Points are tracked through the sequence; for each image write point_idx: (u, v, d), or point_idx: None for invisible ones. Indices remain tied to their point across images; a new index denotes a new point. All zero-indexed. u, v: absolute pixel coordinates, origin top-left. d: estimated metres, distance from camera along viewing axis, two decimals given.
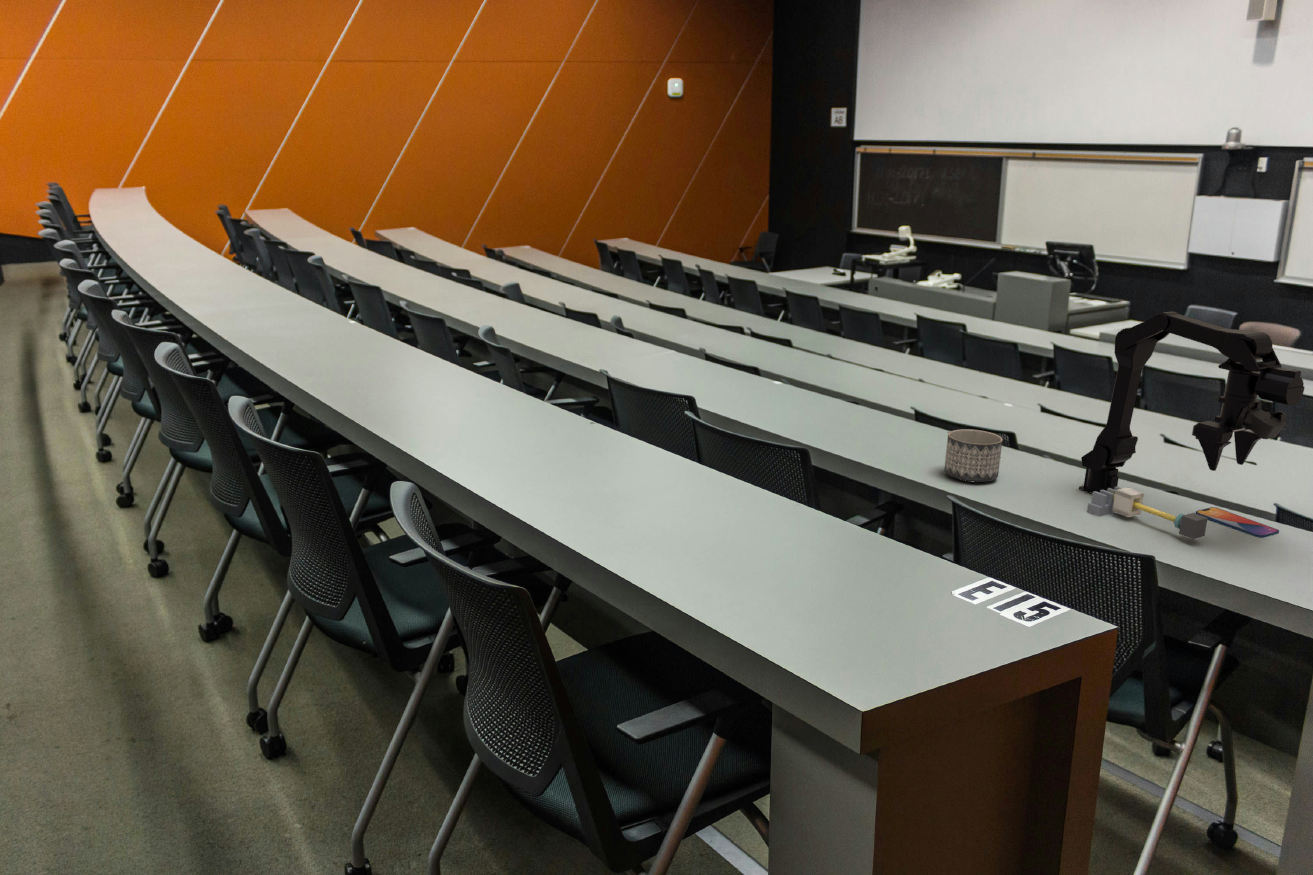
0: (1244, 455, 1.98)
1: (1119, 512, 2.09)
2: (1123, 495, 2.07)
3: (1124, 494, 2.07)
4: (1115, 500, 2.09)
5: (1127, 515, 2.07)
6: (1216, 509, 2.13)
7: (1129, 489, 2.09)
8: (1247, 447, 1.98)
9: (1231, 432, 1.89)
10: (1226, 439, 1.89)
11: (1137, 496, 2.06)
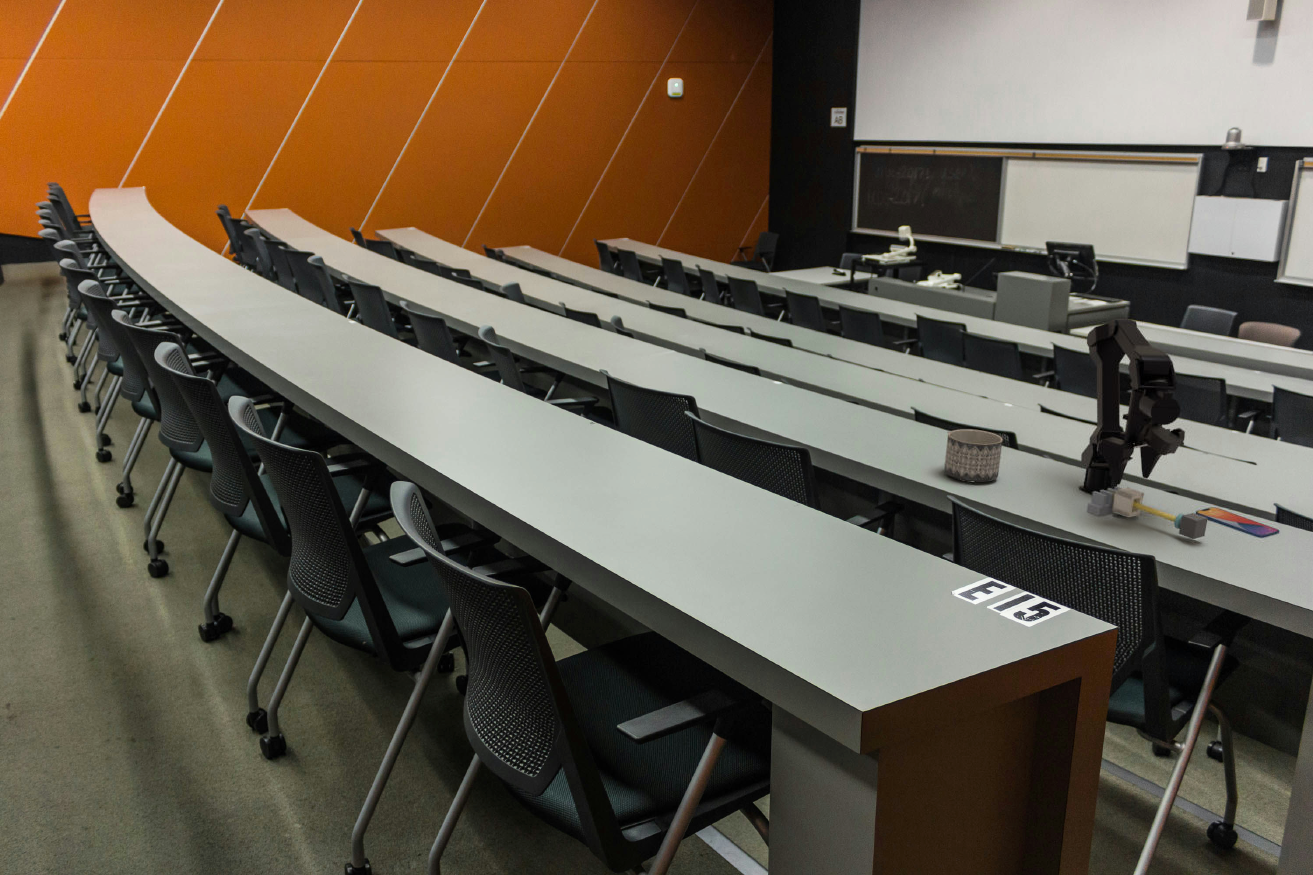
0: (1149, 469, 2.08)
1: (1119, 512, 2.09)
2: (1123, 495, 2.07)
3: (1124, 494, 2.07)
4: (1115, 500, 2.09)
5: (1127, 515, 2.07)
6: (1216, 509, 2.13)
7: (1129, 489, 2.09)
8: (1151, 462, 2.08)
9: (1132, 448, 1.99)
10: (1127, 455, 1.99)
11: (1137, 496, 2.06)
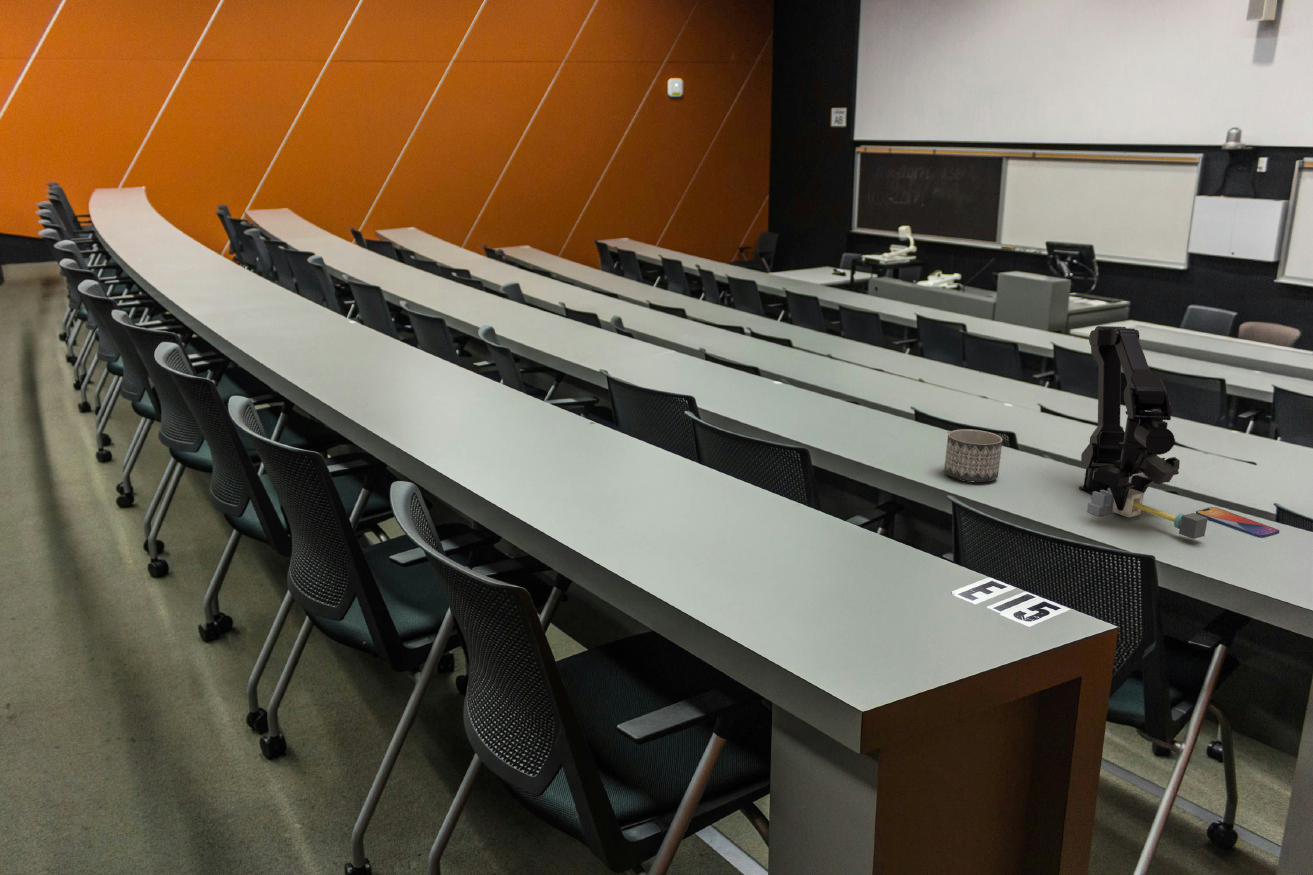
0: None
1: (1119, 512, 2.09)
2: None
3: None
4: None
5: (1127, 515, 2.07)
6: (1216, 509, 2.13)
7: (1129, 489, 2.09)
8: None
9: (1127, 477, 2.01)
10: (1122, 484, 2.01)
11: (1137, 496, 2.06)
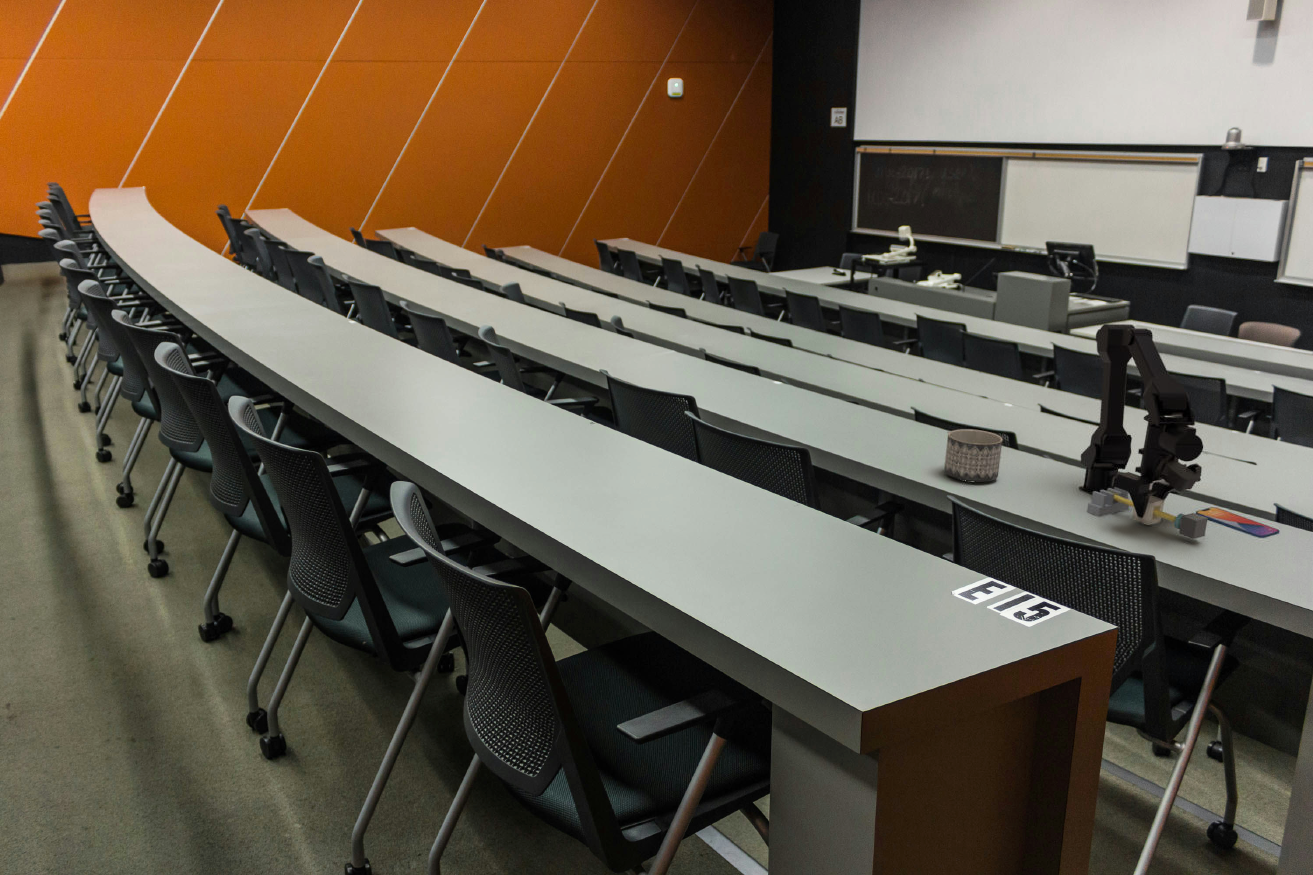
0: None
1: (1139, 519, 2.04)
2: None
3: None
4: None
5: (1147, 523, 2.03)
6: (1216, 509, 2.13)
7: None
8: None
9: (1148, 484, 1.97)
10: (1143, 491, 1.97)
11: (1157, 503, 2.02)
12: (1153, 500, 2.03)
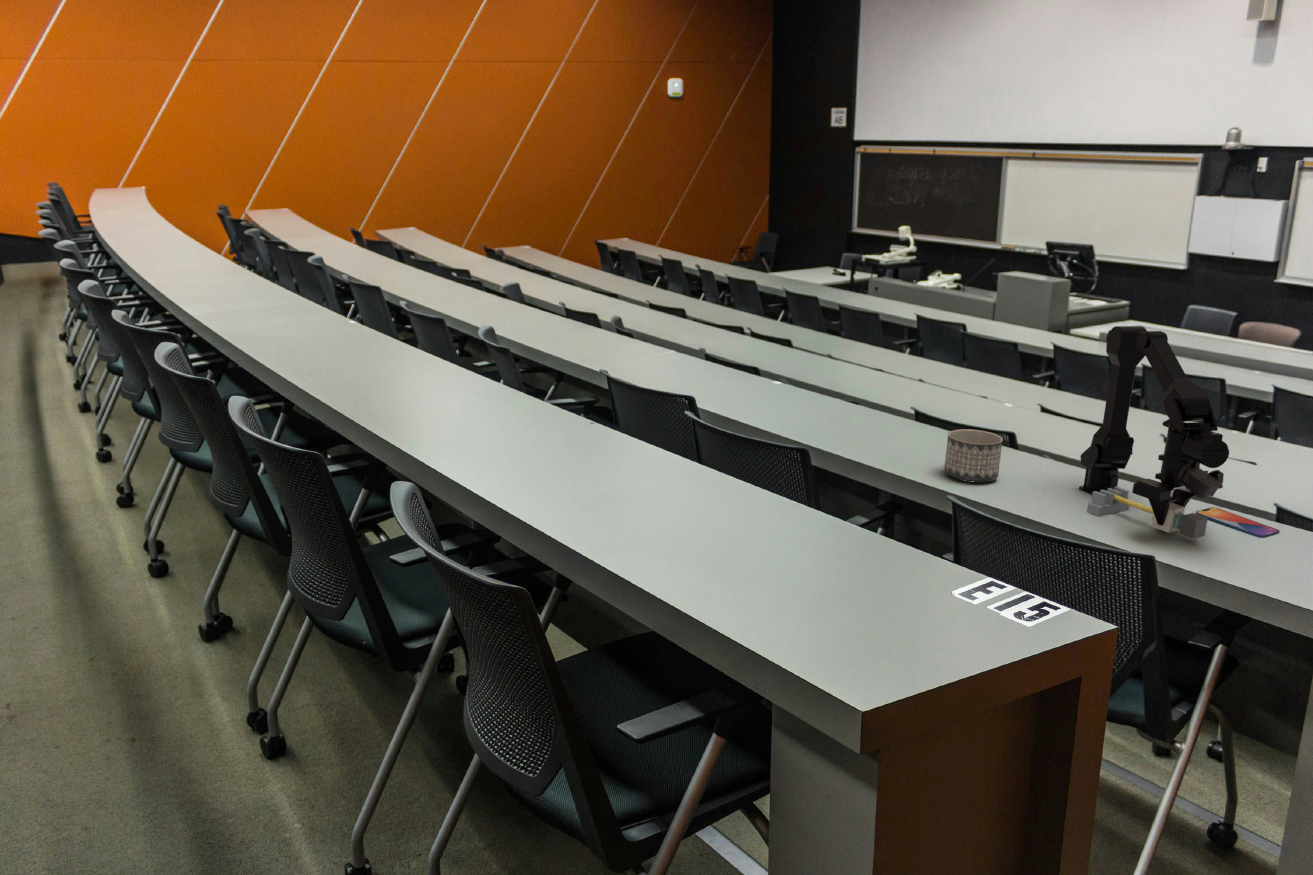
0: None
1: (1159, 527, 2.00)
2: None
3: None
4: None
5: (1167, 530, 1.99)
6: (1216, 509, 2.13)
7: None
8: (1180, 505, 2.00)
9: (1169, 491, 1.93)
10: (1164, 498, 1.93)
11: (1178, 510, 1.98)
12: (1173, 507, 1.99)
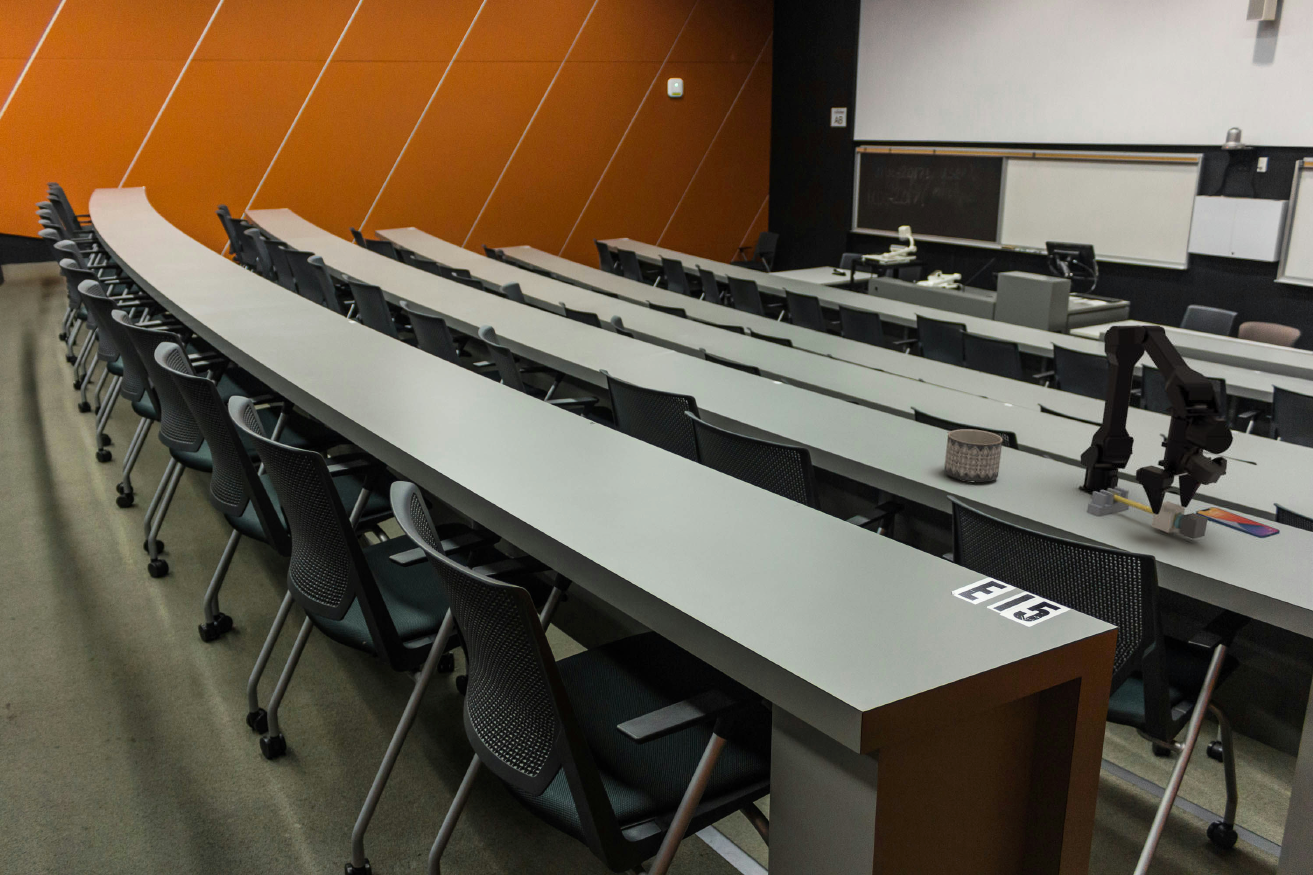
0: (1188, 498, 2.01)
1: (1159, 527, 2.00)
2: (1163, 509, 1.99)
3: (1164, 508, 1.99)
4: (1155, 514, 2.01)
5: (1168, 530, 1.99)
6: (1216, 509, 2.13)
7: (1169, 503, 2.01)
8: (1190, 491, 2.00)
9: (1172, 477, 1.92)
10: (1167, 484, 1.92)
11: (1178, 510, 1.98)
12: (1173, 507, 1.99)
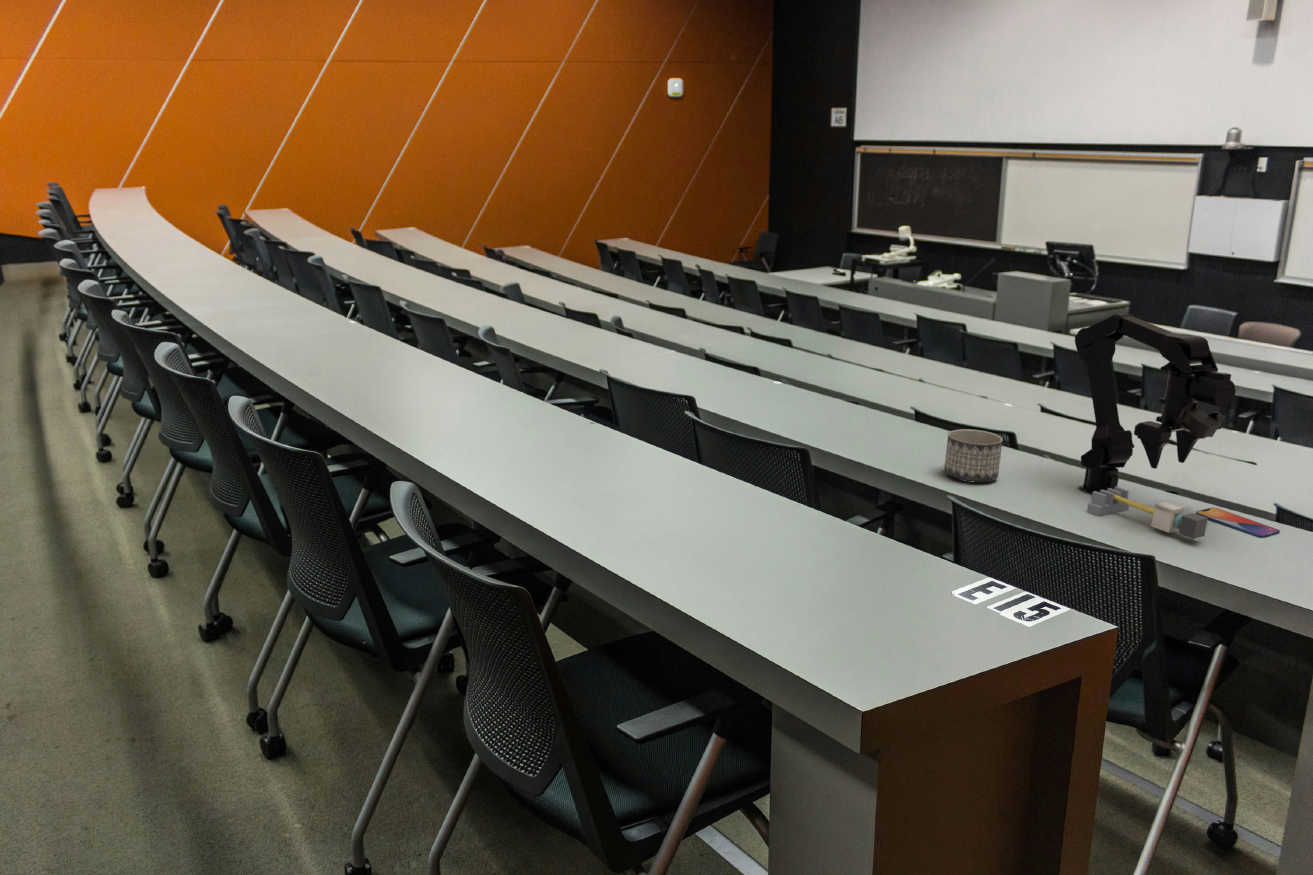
0: (1185, 453, 2.08)
1: (1159, 527, 2.00)
2: (1163, 509, 1.99)
3: (1164, 508, 1.99)
4: (1155, 514, 2.01)
5: (1168, 530, 1.99)
6: (1216, 509, 2.13)
7: (1169, 503, 2.01)
8: (1187, 446, 2.07)
9: (1170, 432, 1.99)
10: (1165, 438, 1.99)
11: (1178, 510, 1.98)
12: (1173, 507, 1.99)
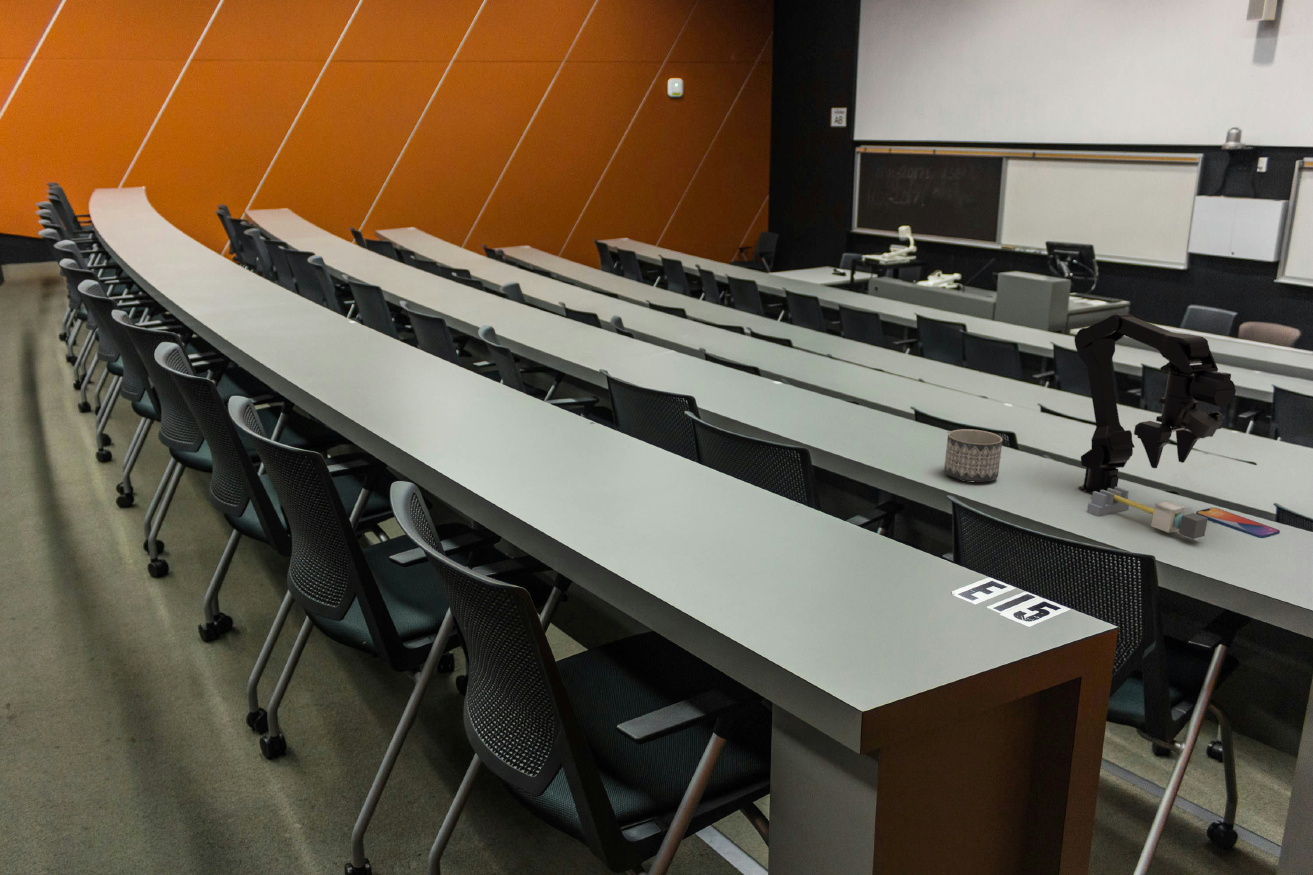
0: (1185, 453, 2.08)
1: (1159, 527, 2.00)
2: (1163, 509, 1.99)
3: (1164, 508, 1.99)
4: (1155, 514, 2.01)
5: (1168, 530, 1.99)
6: (1216, 509, 2.13)
7: (1169, 503, 2.01)
8: (1187, 446, 2.07)
9: (1170, 431, 1.99)
10: (1165, 438, 1.99)
11: (1178, 510, 1.98)
12: (1173, 507, 1.99)
